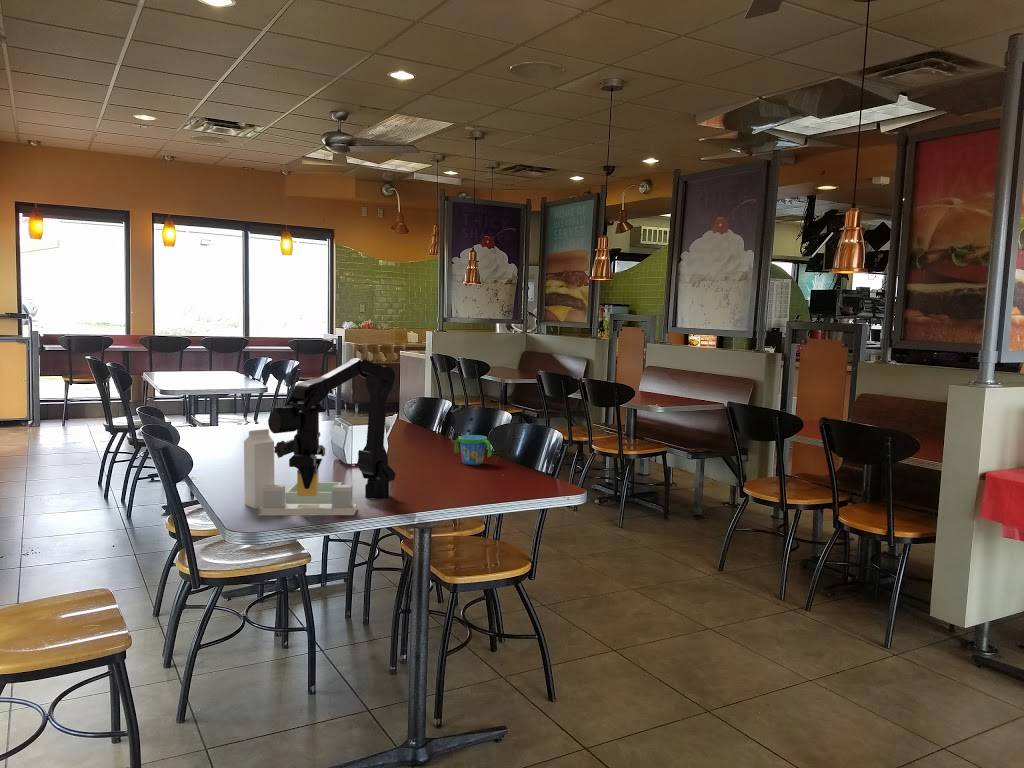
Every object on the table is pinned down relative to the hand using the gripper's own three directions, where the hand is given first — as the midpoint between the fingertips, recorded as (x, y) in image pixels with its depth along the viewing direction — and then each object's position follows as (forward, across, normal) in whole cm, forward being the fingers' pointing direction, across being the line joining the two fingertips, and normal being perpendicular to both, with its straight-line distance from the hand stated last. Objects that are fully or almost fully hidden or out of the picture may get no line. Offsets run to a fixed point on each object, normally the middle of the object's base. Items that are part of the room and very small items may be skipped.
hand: (308, 487), depth 204 cm
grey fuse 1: (+7, 0, -9) cm, 11 cm away
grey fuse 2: (+7, 0, +9) cm, 11 cm away
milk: (+8, -8, -15) cm, 19 cm away
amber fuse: (+2, 0, 0) cm, 2 cm away
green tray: (+8, -15, -1) cm, 17 cm away
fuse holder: (+8, 0, 0) cm, 8 cm away
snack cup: (+8, -76, +46) cm, 89 cm away
